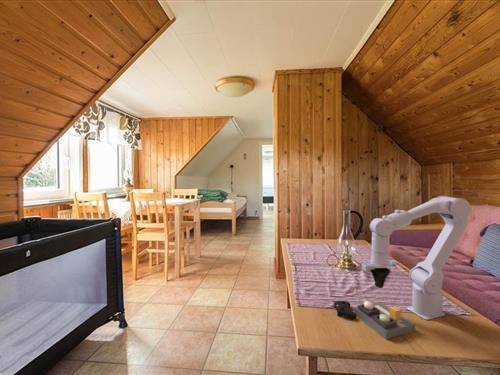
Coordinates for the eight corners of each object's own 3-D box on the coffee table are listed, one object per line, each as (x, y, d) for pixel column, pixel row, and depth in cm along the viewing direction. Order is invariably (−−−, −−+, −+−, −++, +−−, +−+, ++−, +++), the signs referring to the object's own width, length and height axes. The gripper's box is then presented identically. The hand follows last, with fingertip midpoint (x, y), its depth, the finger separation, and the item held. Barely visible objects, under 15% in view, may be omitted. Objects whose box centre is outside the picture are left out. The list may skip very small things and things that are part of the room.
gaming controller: (358, 318, 87) (346, 306, 87) (347, 328, 88) (335, 315, 88) (350, 303, 97) (339, 292, 97) (340, 312, 97) (329, 301, 98)
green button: (384, 318, 83) (384, 313, 83) (392, 323, 80) (392, 318, 80) (377, 320, 82) (377, 315, 82) (384, 325, 79) (384, 320, 79)
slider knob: (394, 314, 85) (395, 306, 85) (400, 318, 83) (401, 310, 83) (389, 315, 85) (389, 307, 84) (395, 319, 82) (395, 311, 82)
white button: (368, 305, 90) (368, 300, 90) (375, 309, 87) (375, 304, 87) (362, 306, 89) (362, 301, 89) (368, 311, 86) (368, 306, 86)
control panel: (380, 308, 94) (380, 298, 94) (414, 331, 81) (415, 319, 81) (354, 314, 91) (354, 304, 90) (386, 339, 77) (386, 327, 77)
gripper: (386, 246, 97) (385, 279, 98) (356, 249, 93) (355, 284, 94) (402, 251, 90) (401, 287, 91) (370, 256, 86) (369, 293, 87)
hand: (379, 286), depth 92 cm, fingers closed
